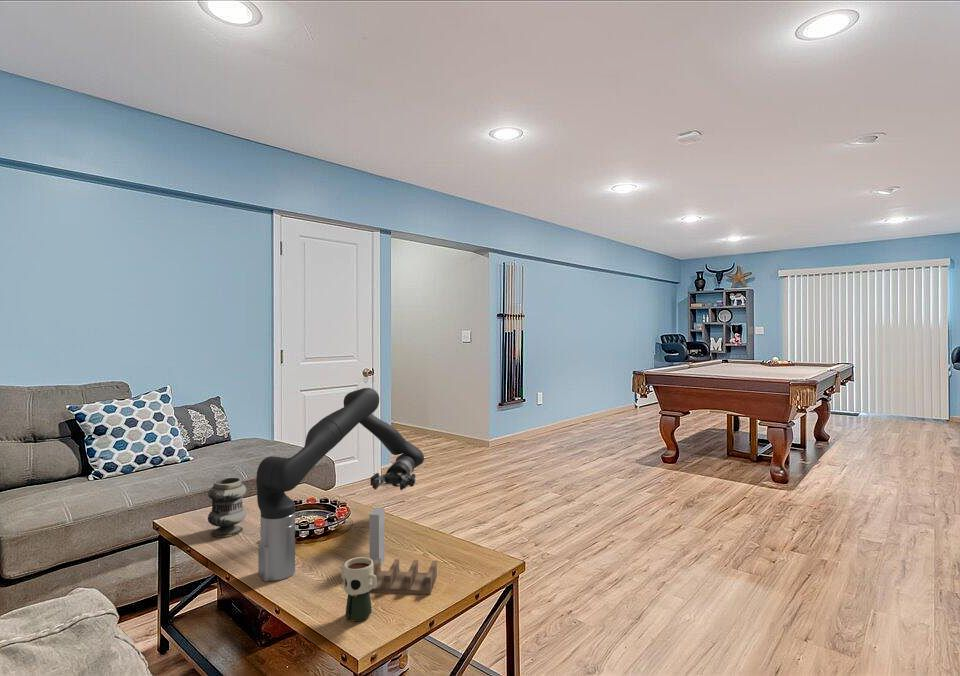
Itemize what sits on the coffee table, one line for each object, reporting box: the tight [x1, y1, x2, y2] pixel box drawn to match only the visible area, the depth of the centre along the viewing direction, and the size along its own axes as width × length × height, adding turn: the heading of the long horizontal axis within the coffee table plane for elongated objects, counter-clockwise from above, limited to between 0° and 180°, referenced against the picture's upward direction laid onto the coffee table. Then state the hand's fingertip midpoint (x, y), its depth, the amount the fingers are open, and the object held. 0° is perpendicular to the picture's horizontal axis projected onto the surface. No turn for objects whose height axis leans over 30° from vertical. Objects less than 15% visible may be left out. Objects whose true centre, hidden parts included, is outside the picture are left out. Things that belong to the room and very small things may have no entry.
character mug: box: [340, 556, 377, 622], centre depth 127 cm, size 11×7×13 cm, turn 61°
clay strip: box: [368, 507, 385, 566], centre depth 155 cm, size 6×3×16 cm, turn 175°
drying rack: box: [369, 558, 438, 595], centre depth 144 cm, size 10×17×4 cm, turn 85°
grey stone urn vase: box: [207, 476, 248, 538], centre depth 180 cm, size 12×12×18 cm
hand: (387, 486), depth 166 cm, fingers open, 8 cm apart
